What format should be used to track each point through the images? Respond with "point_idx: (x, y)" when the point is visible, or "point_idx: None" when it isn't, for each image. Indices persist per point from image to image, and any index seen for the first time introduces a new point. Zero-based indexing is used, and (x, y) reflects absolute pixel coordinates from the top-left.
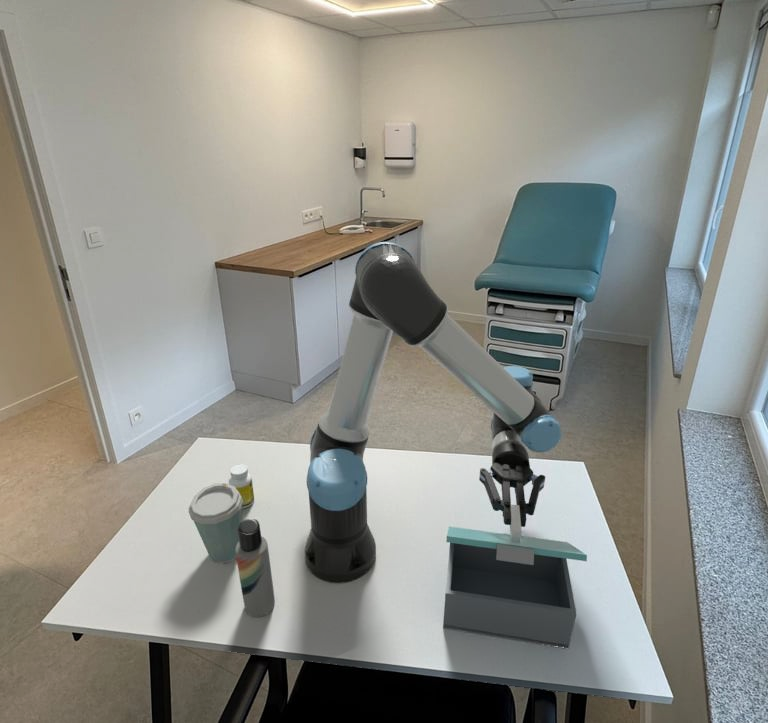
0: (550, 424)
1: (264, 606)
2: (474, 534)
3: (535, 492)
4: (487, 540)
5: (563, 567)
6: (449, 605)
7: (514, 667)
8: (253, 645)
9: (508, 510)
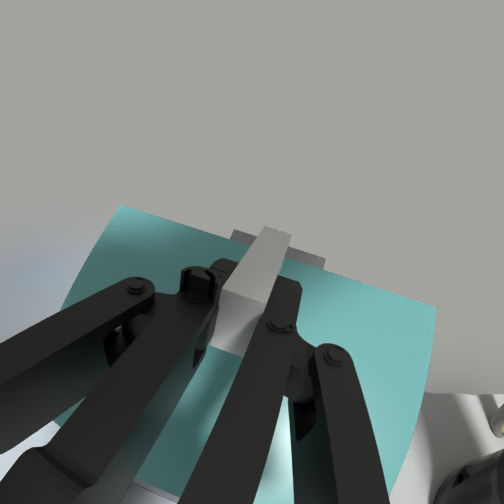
0: None
1: (499, 409)
2: None
3: (48, 330)
4: (342, 298)
5: None
6: None
7: None
8: (481, 394)
9: (278, 304)
